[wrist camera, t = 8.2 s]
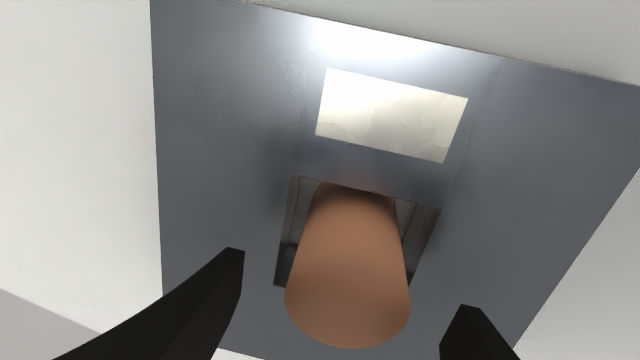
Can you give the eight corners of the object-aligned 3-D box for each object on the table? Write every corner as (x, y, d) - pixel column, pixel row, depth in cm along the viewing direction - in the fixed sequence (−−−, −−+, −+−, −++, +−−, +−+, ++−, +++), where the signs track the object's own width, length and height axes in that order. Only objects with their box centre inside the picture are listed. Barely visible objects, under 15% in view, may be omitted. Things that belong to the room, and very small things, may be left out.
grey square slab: (617, 80, 12) (692, 97, 9) (454, 357, 19) (469, 413, 16) (195, -9, 12) (146, -18, 10) (192, 291, 20) (163, 335, 17)
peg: (406, 183, 15) (429, 274, 9) (381, 251, 17) (388, 360, 11) (321, 162, 15) (295, 240, 10) (305, 232, 17) (275, 331, 11)
